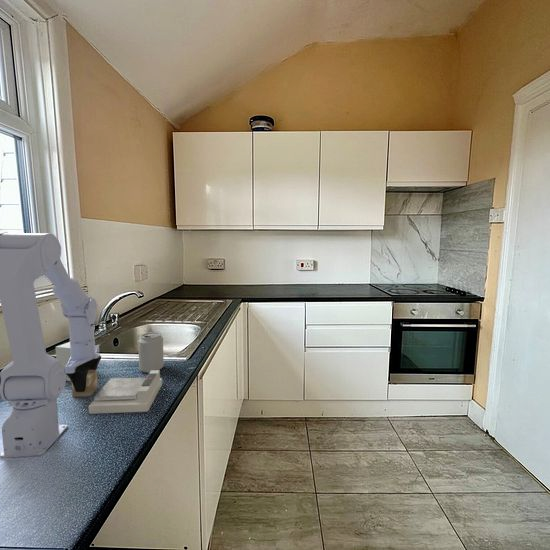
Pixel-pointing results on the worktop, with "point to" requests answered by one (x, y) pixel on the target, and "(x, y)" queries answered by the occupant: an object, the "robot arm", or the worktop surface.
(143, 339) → the can
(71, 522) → the worktop surface
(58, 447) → the worktop surface
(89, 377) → the beech block
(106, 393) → the pan
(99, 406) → the scale base
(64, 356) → the small box
